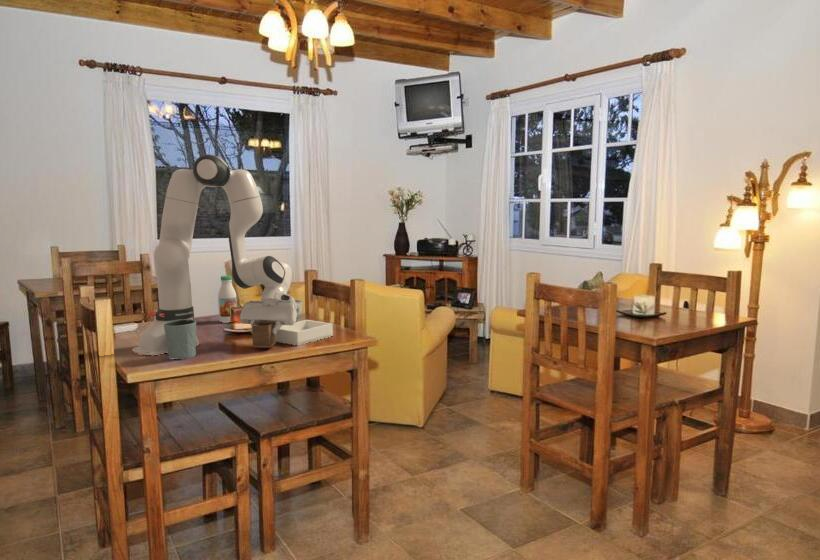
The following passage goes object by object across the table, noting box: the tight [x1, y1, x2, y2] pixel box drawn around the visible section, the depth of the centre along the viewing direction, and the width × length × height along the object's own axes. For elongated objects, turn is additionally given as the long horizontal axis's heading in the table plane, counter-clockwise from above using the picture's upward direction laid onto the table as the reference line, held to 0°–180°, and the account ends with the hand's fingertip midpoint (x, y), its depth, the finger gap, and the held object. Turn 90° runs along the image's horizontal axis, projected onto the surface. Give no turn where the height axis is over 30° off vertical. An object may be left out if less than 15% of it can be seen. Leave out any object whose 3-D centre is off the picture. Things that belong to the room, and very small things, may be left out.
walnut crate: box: [251, 323, 276, 348], centre depth 212 cm, size 6×6×8 cm
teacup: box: [294, 299, 303, 319], centre depth 265 cm, size 14×11×8 cm
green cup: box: [164, 319, 197, 359], centre depth 201 cm, size 10×10×12 cm
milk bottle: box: [217, 275, 238, 324], centre depth 259 cm, size 8×8×20 cm
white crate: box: [275, 319, 334, 347], centre depth 226 cm, size 18×14×5 cm
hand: (263, 333), depth 211 cm, fingers closed on walnut crate, 6 cm apart
